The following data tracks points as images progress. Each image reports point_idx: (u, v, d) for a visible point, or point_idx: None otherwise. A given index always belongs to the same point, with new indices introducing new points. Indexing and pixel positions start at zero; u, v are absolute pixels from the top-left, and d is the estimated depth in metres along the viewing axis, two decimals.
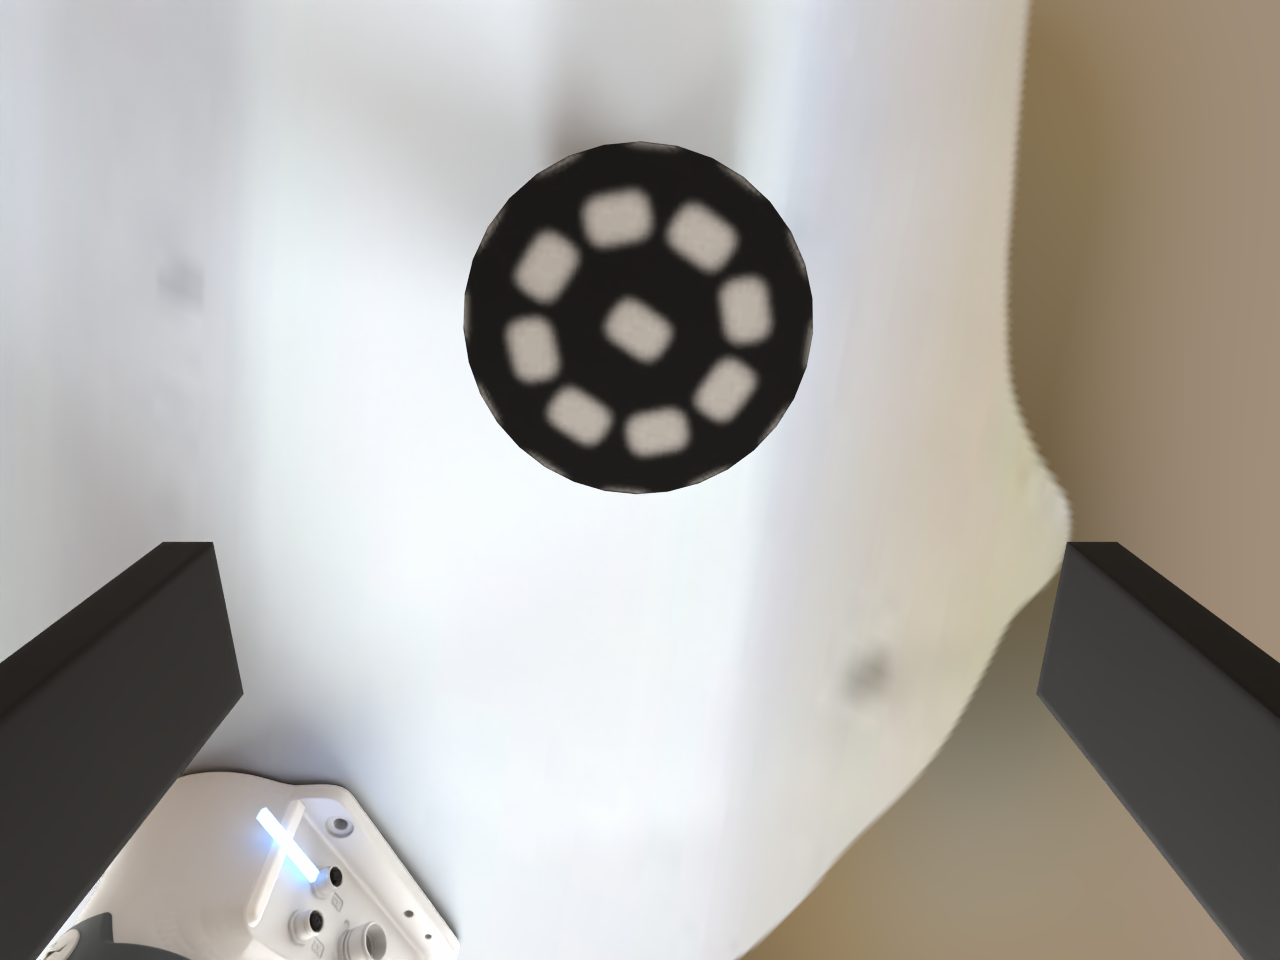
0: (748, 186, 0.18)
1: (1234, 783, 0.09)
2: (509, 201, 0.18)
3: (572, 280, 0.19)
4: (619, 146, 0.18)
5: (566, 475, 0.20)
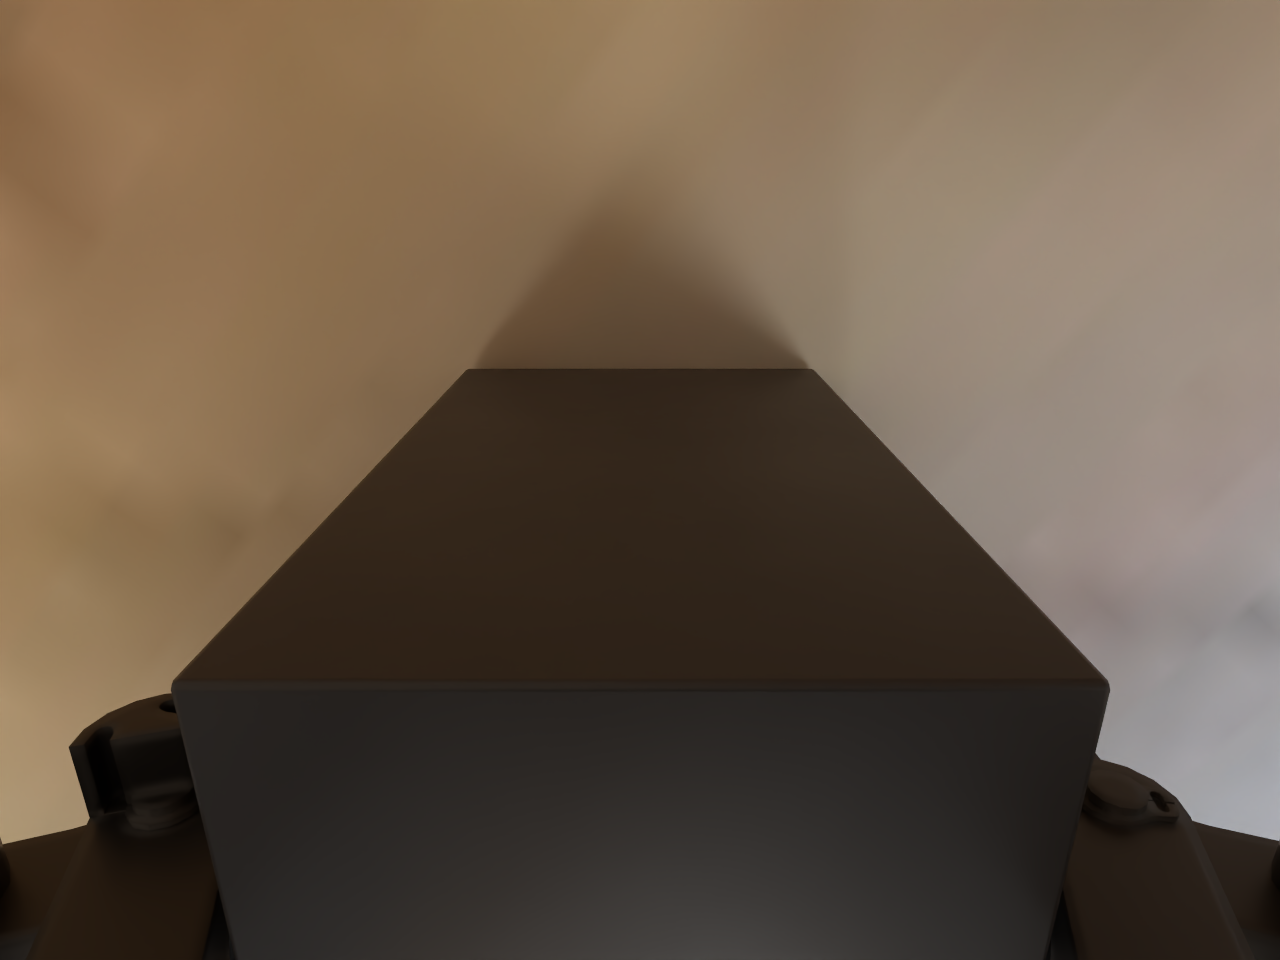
0: None
1: None
2: None
3: None
4: None
5: None
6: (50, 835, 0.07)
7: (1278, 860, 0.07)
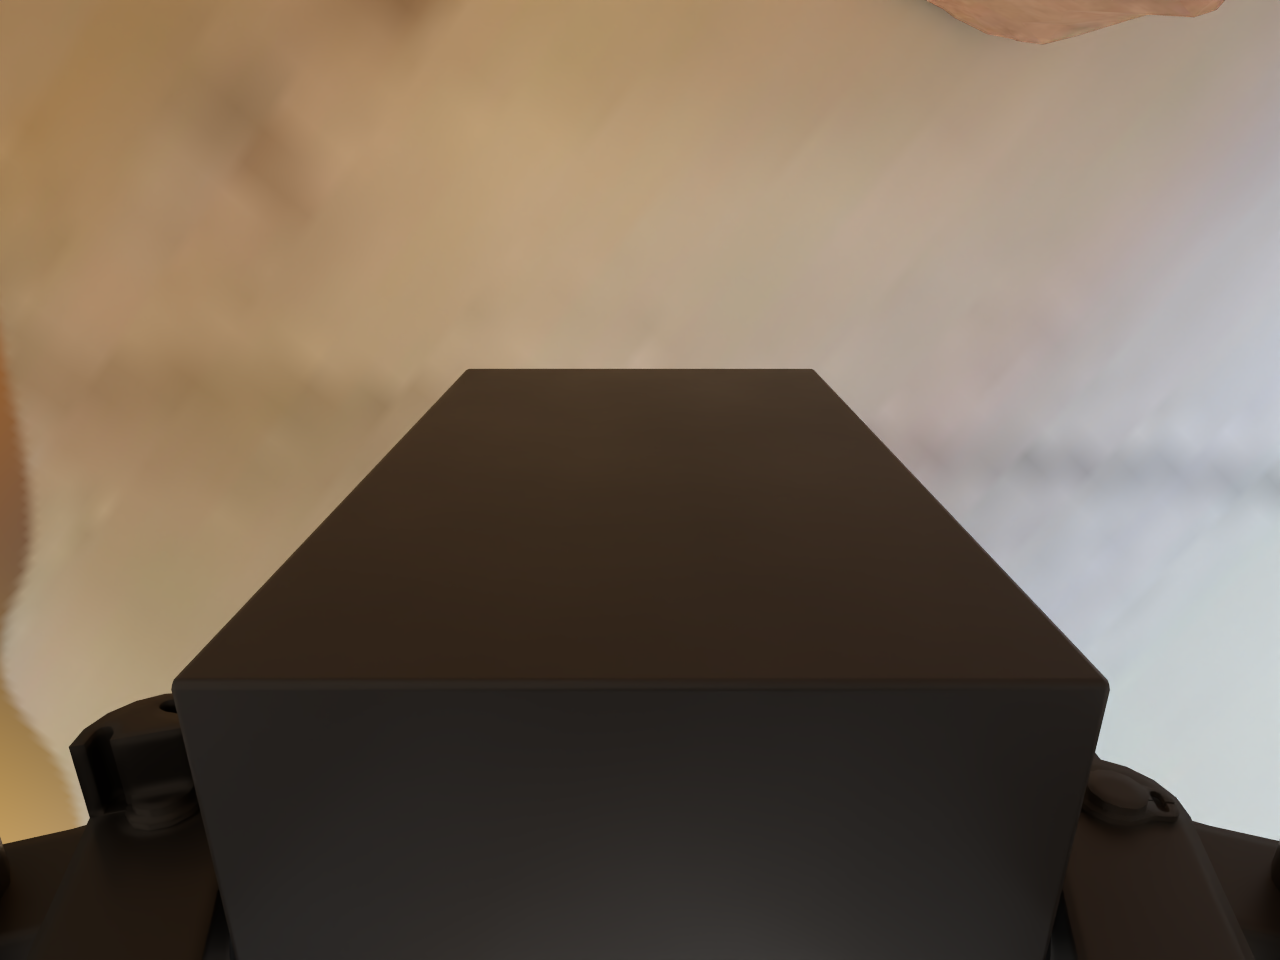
0: None
1: None
2: None
3: None
4: None
5: None
6: (50, 835, 0.07)
7: (1278, 860, 0.07)
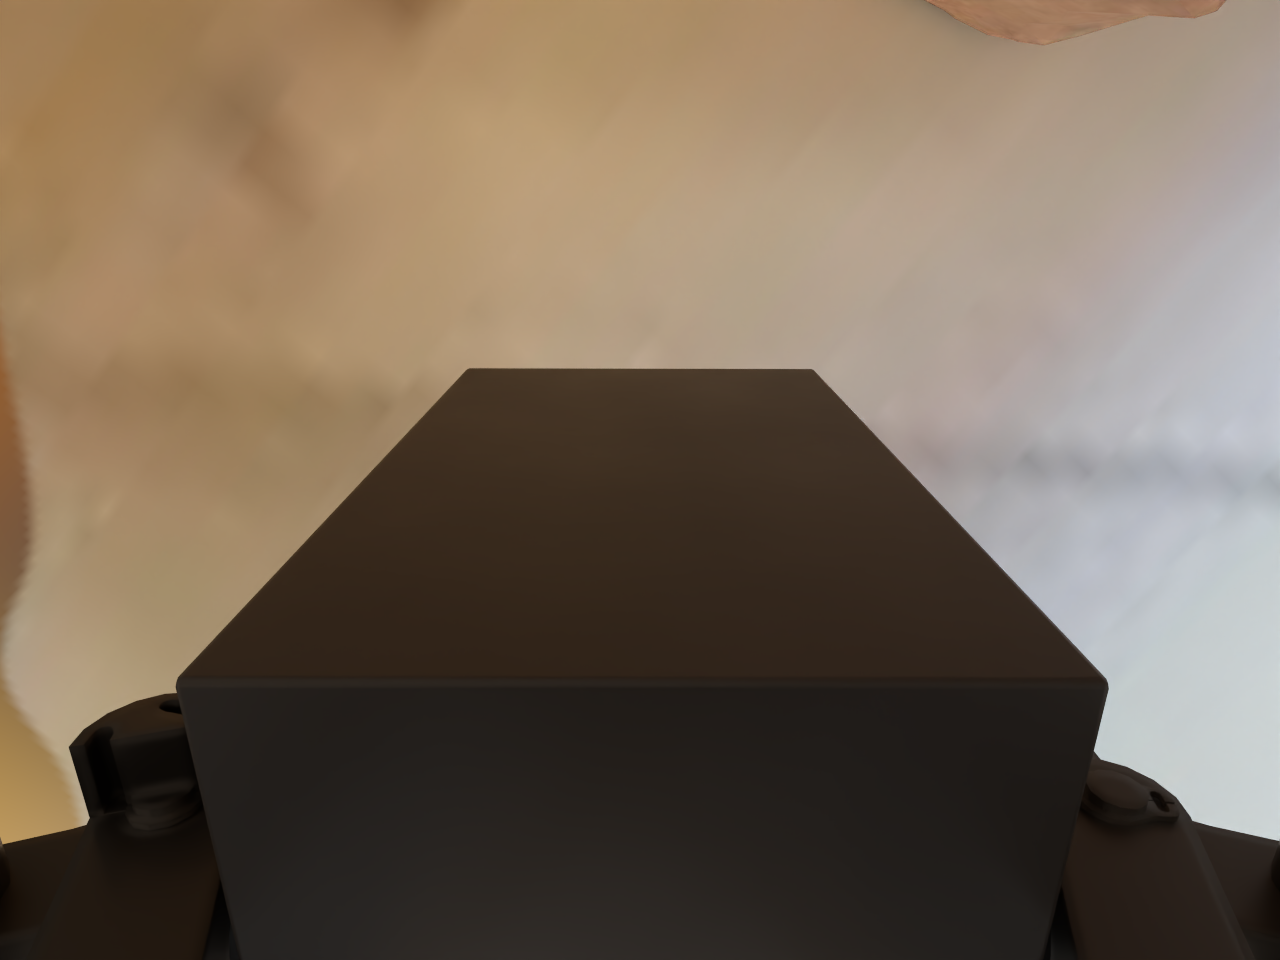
0: None
1: None
2: None
3: None
4: None
5: None
6: (50, 835, 0.07)
7: (1278, 860, 0.07)
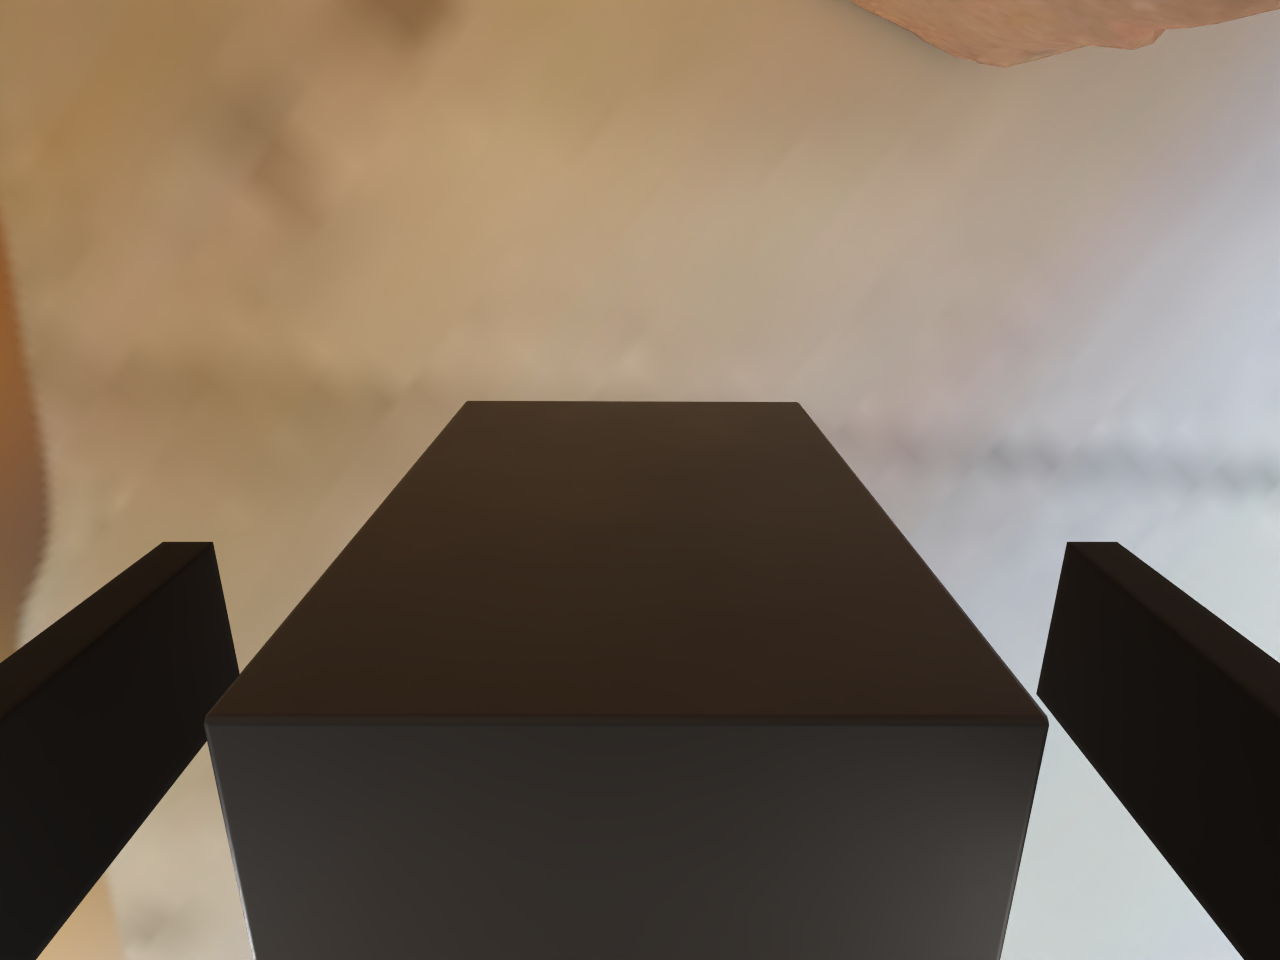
0: None
1: (1234, 783, 0.09)
2: None
3: None
4: None
5: None
6: None
7: None
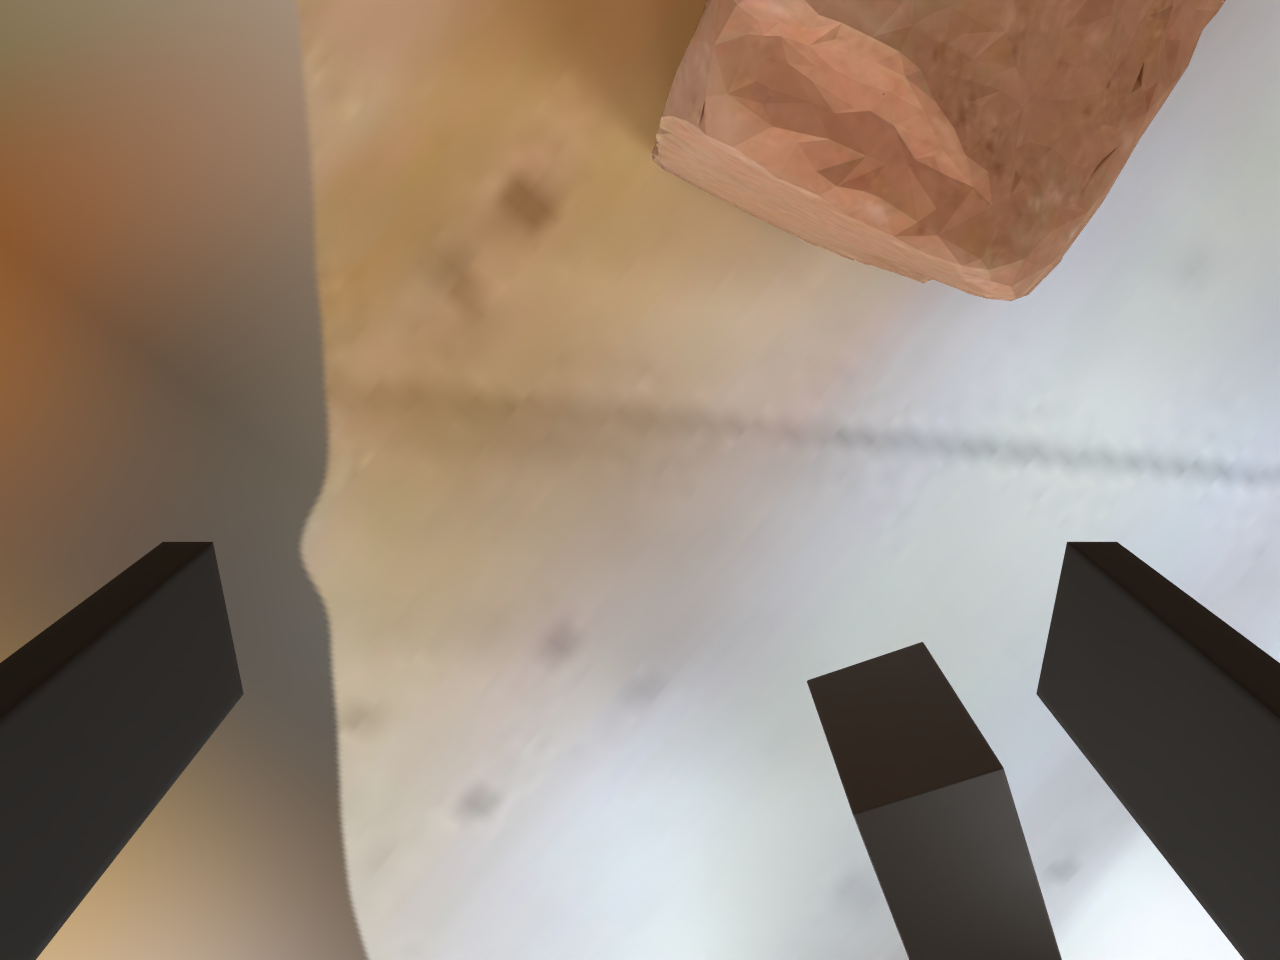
0: None
1: (1235, 783, 0.09)
2: None
3: None
4: None
5: None
6: None
7: None
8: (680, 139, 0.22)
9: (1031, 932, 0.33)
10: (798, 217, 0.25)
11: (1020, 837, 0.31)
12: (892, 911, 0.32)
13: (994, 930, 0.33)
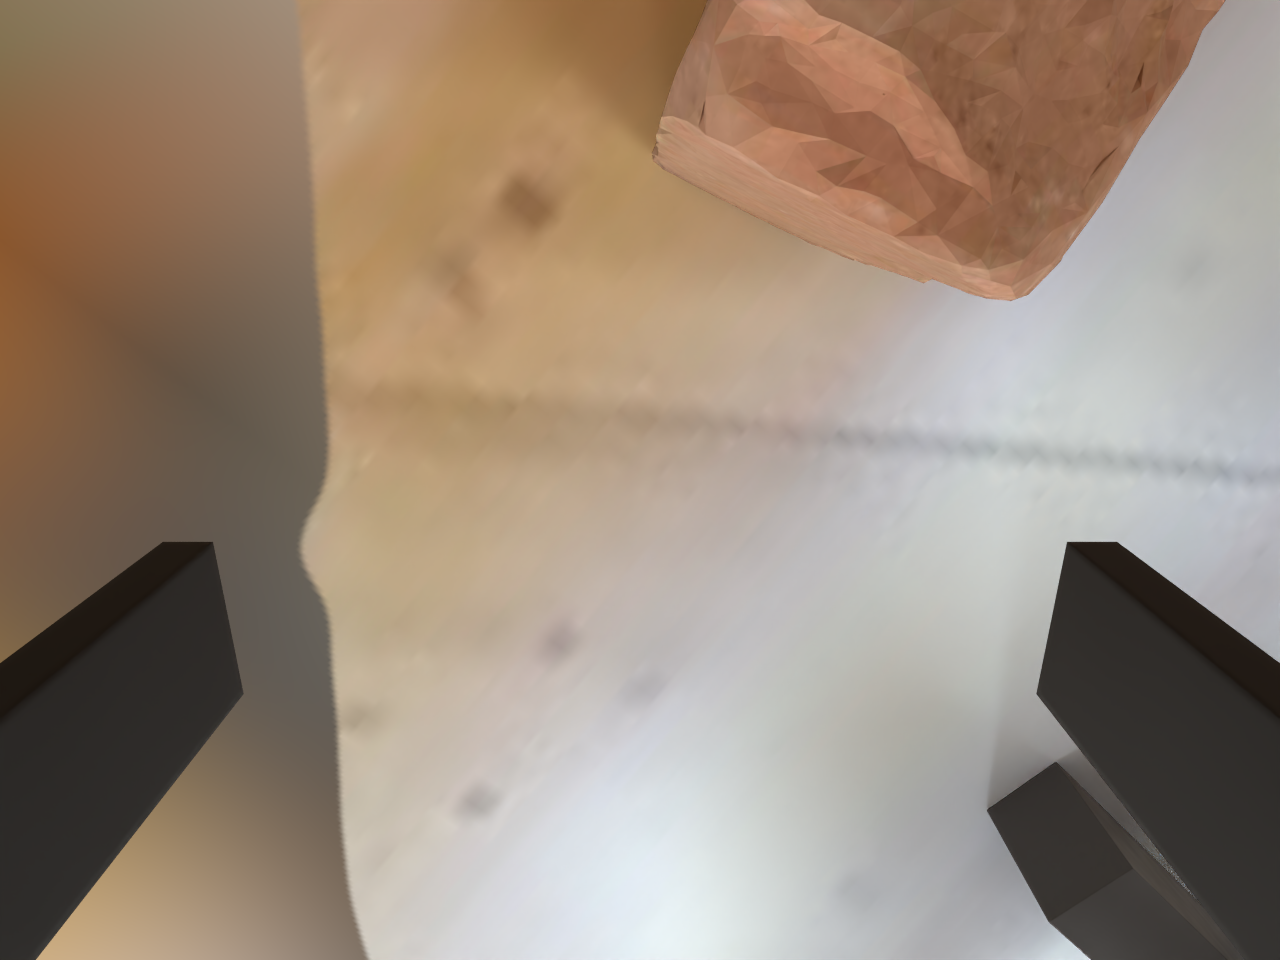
0: None
1: (1235, 783, 0.09)
2: None
3: None
4: None
5: None
6: None
7: None
8: (680, 139, 0.22)
9: (1199, 951, 0.48)
10: (798, 217, 0.25)
11: (1163, 901, 0.47)
12: None
13: (1173, 957, 0.49)
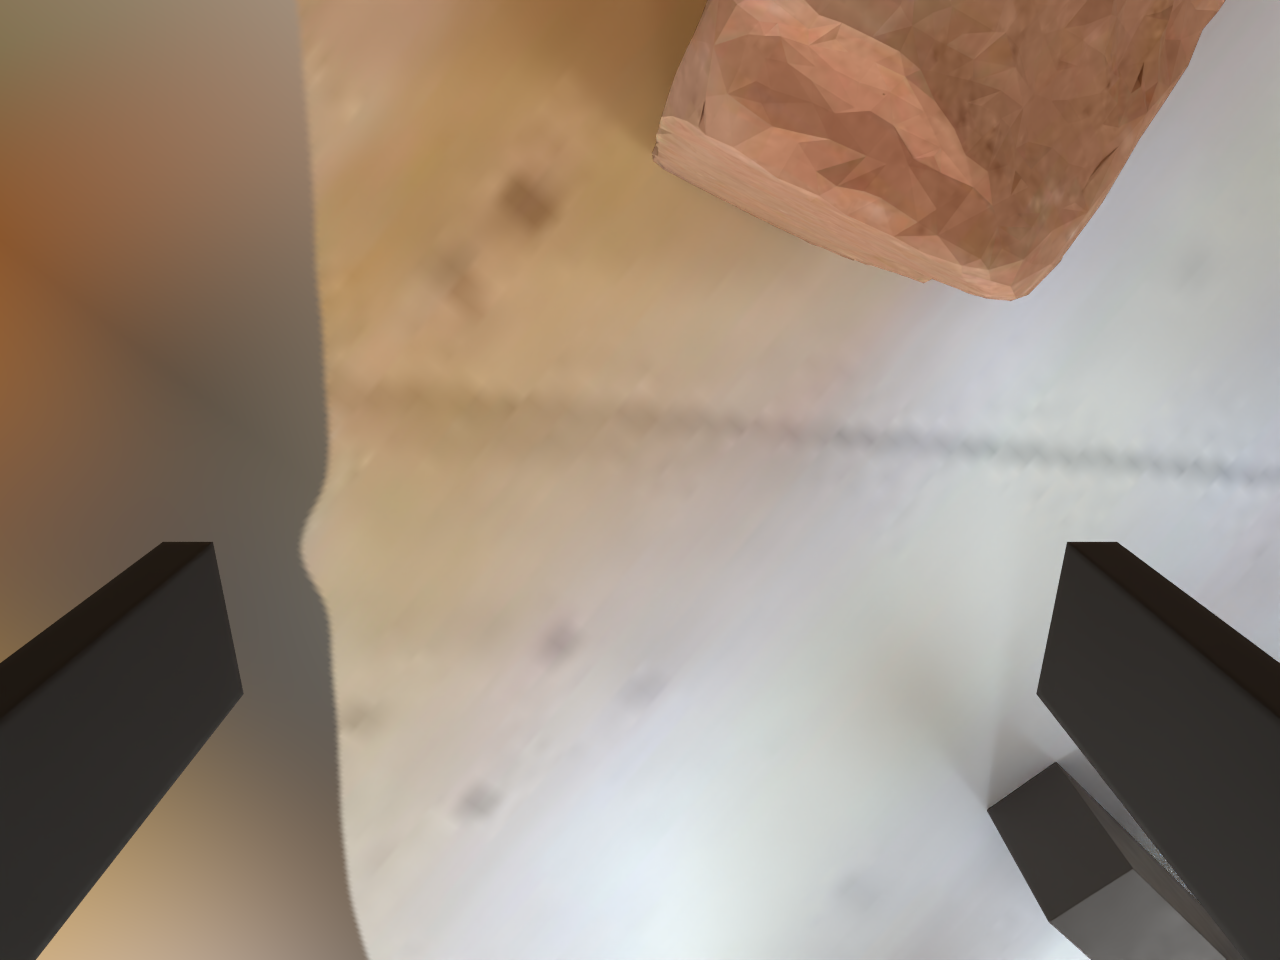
0: None
1: (1235, 783, 0.09)
2: None
3: None
4: None
5: None
6: None
7: None
8: (680, 139, 0.22)
9: (1199, 951, 0.48)
10: (798, 217, 0.25)
11: (1163, 901, 0.47)
12: None
13: (1173, 957, 0.49)
